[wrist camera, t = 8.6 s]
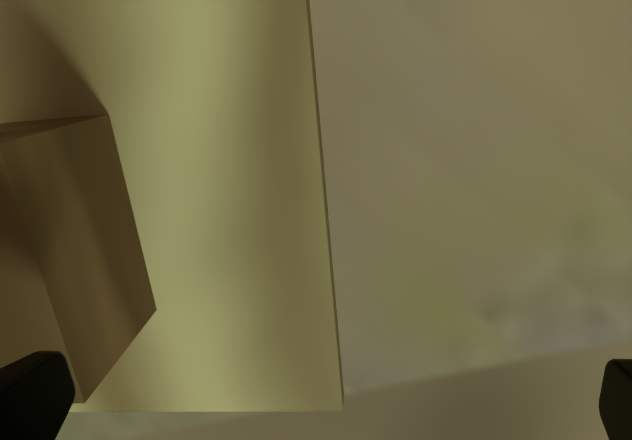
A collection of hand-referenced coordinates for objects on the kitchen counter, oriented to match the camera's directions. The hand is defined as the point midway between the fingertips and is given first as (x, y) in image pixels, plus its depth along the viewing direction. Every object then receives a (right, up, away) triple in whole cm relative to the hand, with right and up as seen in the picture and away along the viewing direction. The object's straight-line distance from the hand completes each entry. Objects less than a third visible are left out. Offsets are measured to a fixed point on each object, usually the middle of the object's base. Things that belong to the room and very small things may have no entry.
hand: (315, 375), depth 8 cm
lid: (-7, +3, +7) cm, 10 cm away
